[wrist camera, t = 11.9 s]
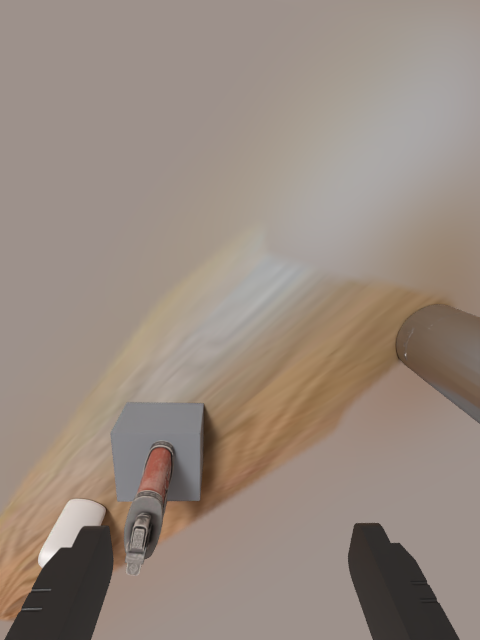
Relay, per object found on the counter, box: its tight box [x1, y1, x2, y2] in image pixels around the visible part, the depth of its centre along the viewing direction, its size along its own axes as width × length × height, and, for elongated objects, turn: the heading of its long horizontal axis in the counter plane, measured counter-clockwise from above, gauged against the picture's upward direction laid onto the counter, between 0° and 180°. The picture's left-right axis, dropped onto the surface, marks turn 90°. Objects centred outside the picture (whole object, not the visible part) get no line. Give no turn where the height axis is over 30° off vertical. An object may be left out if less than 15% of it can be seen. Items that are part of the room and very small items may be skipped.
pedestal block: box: [111, 403, 204, 501], centre depth 38 cm, size 10×10×6 cm
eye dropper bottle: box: [38, 499, 106, 568], centre depth 39 cm, size 4×6×12 cm
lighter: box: [124, 440, 175, 575], centre depth 31 cm, size 8×3×10 cm, turn 167°
